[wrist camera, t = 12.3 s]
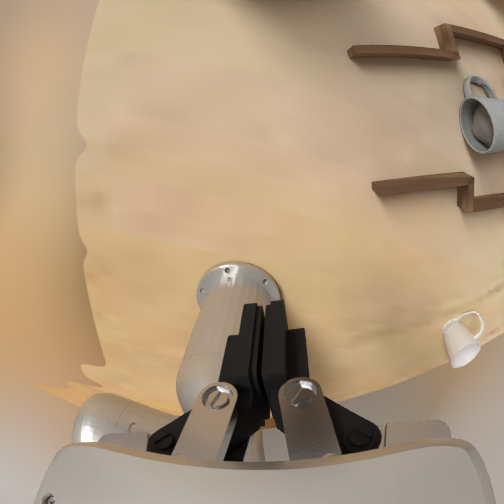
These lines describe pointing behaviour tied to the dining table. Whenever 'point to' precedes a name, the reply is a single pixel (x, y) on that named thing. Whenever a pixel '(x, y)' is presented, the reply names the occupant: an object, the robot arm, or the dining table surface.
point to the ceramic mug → (482, 118)
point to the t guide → (445, 53)
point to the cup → (461, 341)
